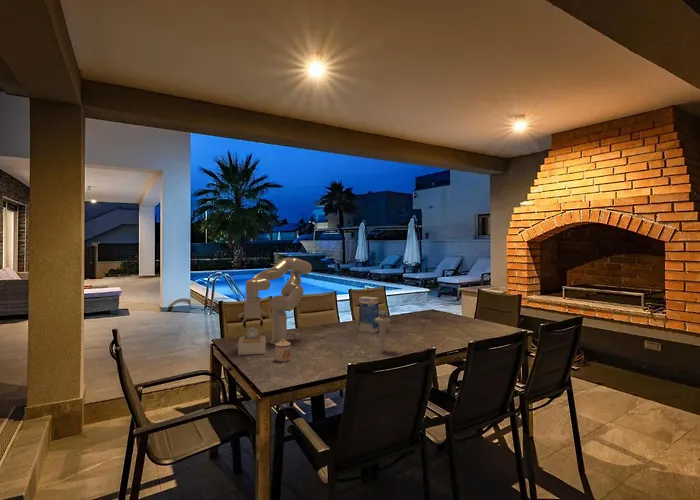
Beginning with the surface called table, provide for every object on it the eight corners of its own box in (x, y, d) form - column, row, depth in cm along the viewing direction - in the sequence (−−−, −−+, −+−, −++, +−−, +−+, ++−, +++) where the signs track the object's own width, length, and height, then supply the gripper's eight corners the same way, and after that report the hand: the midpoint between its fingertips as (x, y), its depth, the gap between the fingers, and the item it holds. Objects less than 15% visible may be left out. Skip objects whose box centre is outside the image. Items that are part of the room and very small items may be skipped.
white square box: (265, 346, 247) (265, 333, 246) (265, 353, 231) (265, 339, 231) (240, 347, 243) (239, 334, 243) (237, 355, 228) (237, 341, 227)
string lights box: (378, 331, 288) (379, 297, 288) (374, 333, 282) (374, 298, 281) (363, 329, 295) (363, 296, 295) (358, 331, 289) (358, 297, 288)
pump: (257, 338, 240) (257, 326, 240) (256, 341, 232) (256, 329, 232) (247, 338, 239) (247, 326, 239) (246, 341, 231) (246, 329, 231)
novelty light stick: (371, 349, 240) (371, 310, 239) (385, 348, 243) (386, 309, 242) (378, 354, 230) (378, 313, 230) (392, 352, 234) (393, 312, 233)
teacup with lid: (284, 362, 214) (284, 342, 214) (271, 360, 218) (271, 340, 218) (296, 357, 225) (296, 337, 224) (284, 354, 229) (284, 335, 229)
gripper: (266, 298, 242) (267, 324, 243) (238, 299, 238) (239, 326, 239) (266, 300, 234) (267, 327, 235) (237, 301, 231) (238, 329, 232)
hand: (253, 326), depth 237 cm, fingers open, 9 cm apart
